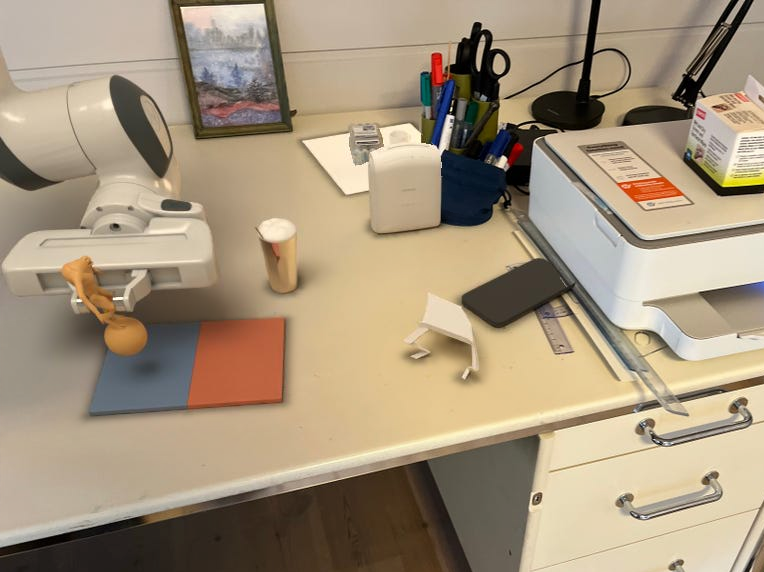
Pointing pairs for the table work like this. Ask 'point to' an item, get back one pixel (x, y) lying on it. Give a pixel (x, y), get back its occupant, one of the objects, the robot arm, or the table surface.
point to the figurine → (105, 309)
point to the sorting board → (195, 368)
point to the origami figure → (445, 327)
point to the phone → (515, 292)
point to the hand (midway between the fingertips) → (101, 307)
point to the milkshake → (279, 253)
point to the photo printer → (404, 187)
